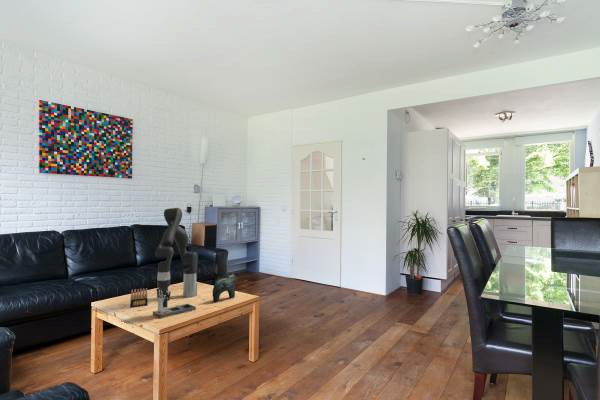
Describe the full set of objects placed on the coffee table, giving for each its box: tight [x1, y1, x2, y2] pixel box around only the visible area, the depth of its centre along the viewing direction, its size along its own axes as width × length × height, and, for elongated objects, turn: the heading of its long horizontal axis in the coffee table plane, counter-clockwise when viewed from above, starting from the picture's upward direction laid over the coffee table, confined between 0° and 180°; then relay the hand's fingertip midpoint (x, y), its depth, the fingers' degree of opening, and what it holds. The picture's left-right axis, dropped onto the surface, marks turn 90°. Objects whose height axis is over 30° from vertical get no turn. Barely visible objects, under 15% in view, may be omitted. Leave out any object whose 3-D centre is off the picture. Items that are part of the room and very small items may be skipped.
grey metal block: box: [157, 297, 169, 313], centre depth 208 cm, size 4×4×9 cm
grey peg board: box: [152, 303, 197, 319], centre depth 214 cm, size 24×10×2 cm, turn 140°
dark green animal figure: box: [212, 271, 237, 303], centre depth 245 cm, size 20×6×20 cm, turn 141°
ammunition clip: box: [129, 287, 149, 309], centre depth 225 cm, size 11×2×12 cm, turn 124°
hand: (163, 306), depth 208 cm, fingers closed on grey metal block, 4 cm apart
